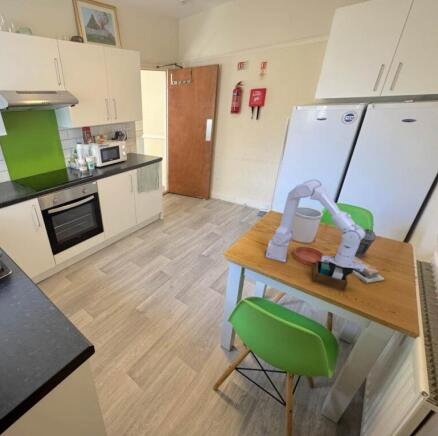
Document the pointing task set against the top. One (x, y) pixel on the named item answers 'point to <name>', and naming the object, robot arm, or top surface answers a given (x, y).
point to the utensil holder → (306, 223)
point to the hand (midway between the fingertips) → (335, 277)
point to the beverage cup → (365, 242)
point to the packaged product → (366, 272)
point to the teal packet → (324, 269)
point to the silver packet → (338, 273)
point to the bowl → (307, 255)
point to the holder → (328, 278)
